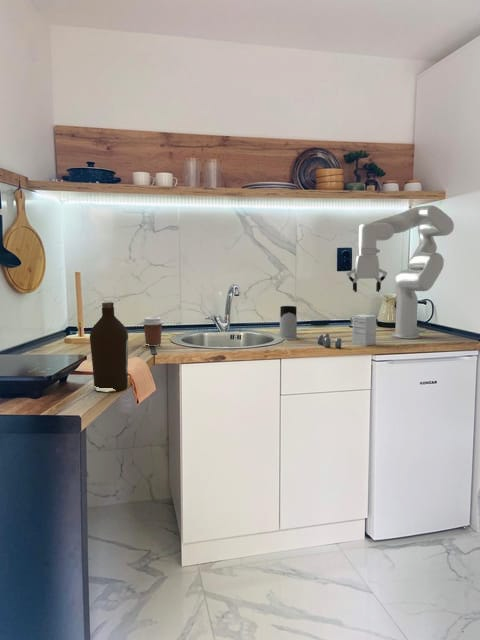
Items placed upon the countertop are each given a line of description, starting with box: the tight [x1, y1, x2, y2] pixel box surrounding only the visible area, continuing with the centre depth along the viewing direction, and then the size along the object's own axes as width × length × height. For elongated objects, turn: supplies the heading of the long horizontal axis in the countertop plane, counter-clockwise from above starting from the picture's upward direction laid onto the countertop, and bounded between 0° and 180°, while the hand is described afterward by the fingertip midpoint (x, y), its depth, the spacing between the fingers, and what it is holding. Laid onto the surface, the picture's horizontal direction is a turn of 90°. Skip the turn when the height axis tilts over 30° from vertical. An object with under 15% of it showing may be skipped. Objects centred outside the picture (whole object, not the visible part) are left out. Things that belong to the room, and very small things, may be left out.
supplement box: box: [351, 313, 377, 347], centre depth 204 cm, size 7×7×13 cm
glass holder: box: [279, 305, 298, 341], centre depth 221 cm, size 9×14×15 cm, turn 179°
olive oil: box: [89, 301, 129, 393], centre depth 134 cm, size 11×11×25 cm
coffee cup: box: [141, 316, 164, 347], centre depth 202 cm, size 9×9×12 cm
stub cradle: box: [317, 333, 342, 350], centre depth 201 cm, size 6×15×4 cm, turn 13°
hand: (366, 291), depth 205 cm, fingers open, 9 cm apart
